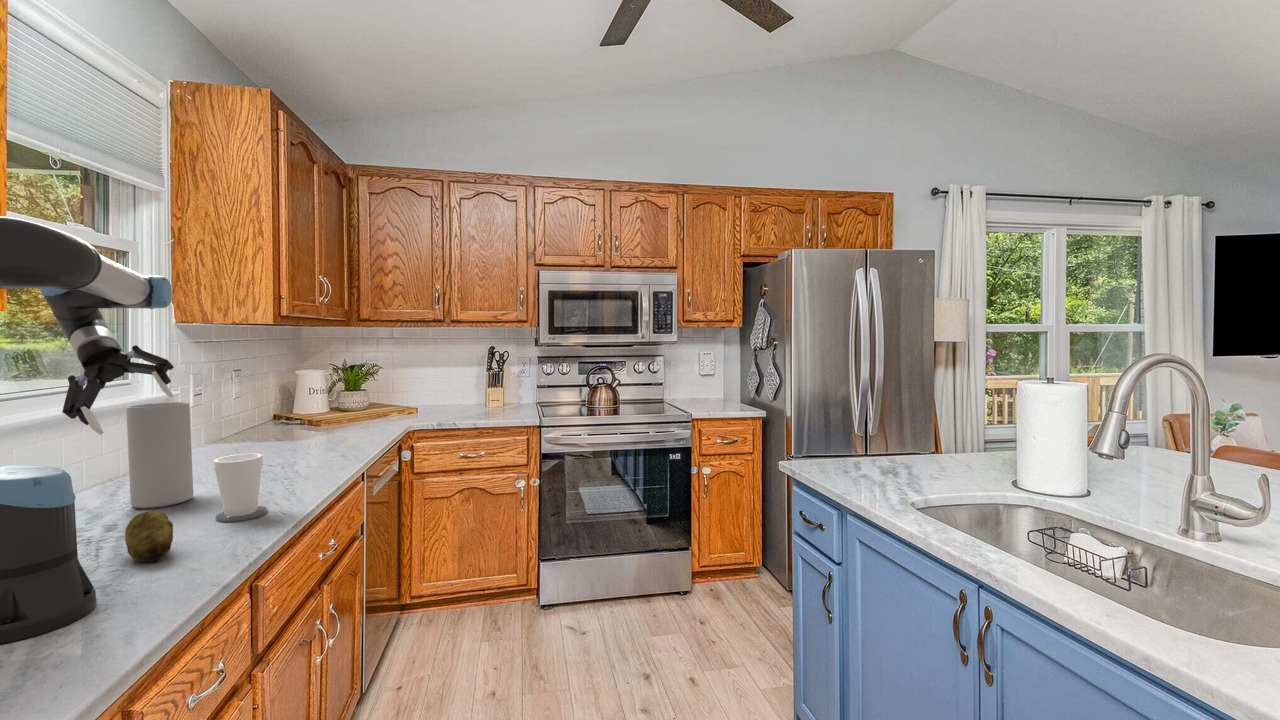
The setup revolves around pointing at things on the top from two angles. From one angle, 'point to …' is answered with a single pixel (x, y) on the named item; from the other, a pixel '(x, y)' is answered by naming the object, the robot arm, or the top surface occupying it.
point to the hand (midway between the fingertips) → (134, 411)
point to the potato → (149, 536)
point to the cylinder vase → (159, 454)
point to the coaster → (223, 518)
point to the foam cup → (239, 482)
